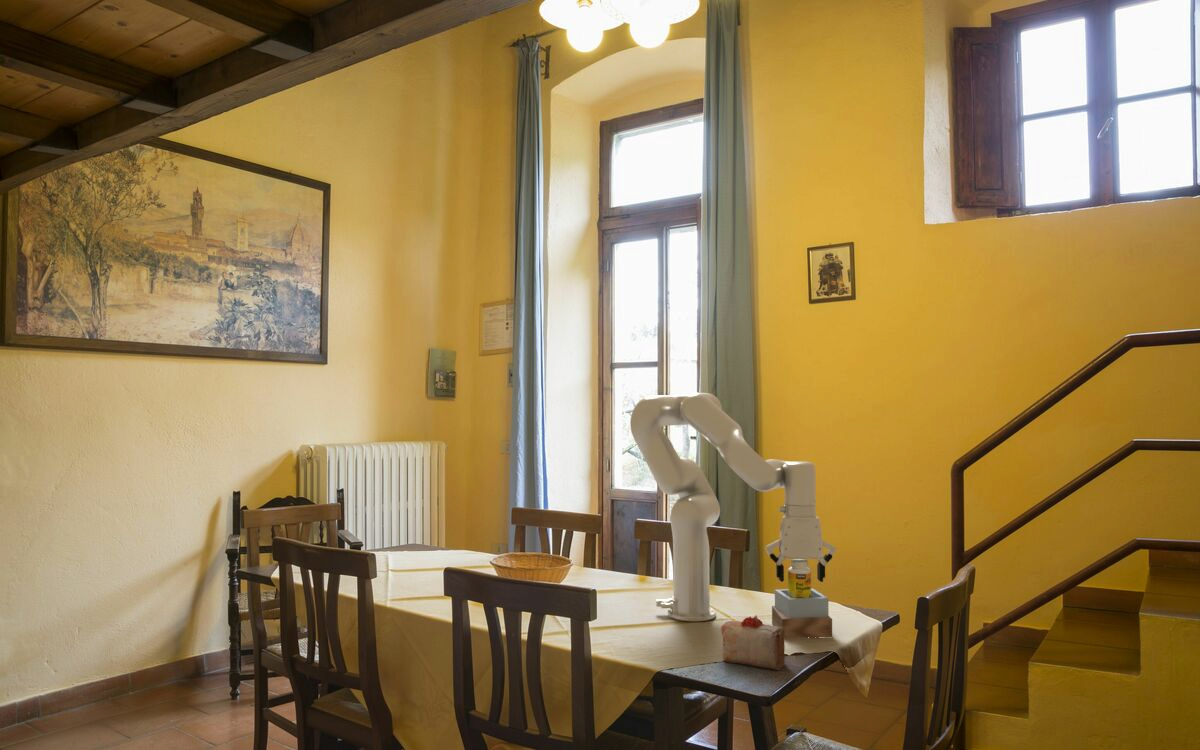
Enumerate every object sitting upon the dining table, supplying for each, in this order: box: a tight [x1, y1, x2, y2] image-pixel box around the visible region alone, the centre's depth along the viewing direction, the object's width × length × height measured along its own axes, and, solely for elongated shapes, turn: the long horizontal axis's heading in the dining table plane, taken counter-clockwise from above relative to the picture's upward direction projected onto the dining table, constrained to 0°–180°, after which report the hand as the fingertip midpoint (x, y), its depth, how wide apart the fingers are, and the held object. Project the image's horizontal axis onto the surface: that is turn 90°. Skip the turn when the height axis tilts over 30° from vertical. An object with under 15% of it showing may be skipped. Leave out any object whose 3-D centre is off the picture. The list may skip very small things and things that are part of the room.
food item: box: [720, 614, 786, 671], centre depth 178 cm, size 14×8×10 cm, turn 60°
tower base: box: [771, 605, 833, 639], centre depth 201 cm, size 12×12×5 cm
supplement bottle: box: [787, 559, 812, 598], centre depth 202 cm, size 6×6×10 cm
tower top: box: [774, 587, 830, 618], centre depth 202 cm, size 10×10×4 cm
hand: (800, 580), depth 202 cm, fingers open, 9 cm apart
